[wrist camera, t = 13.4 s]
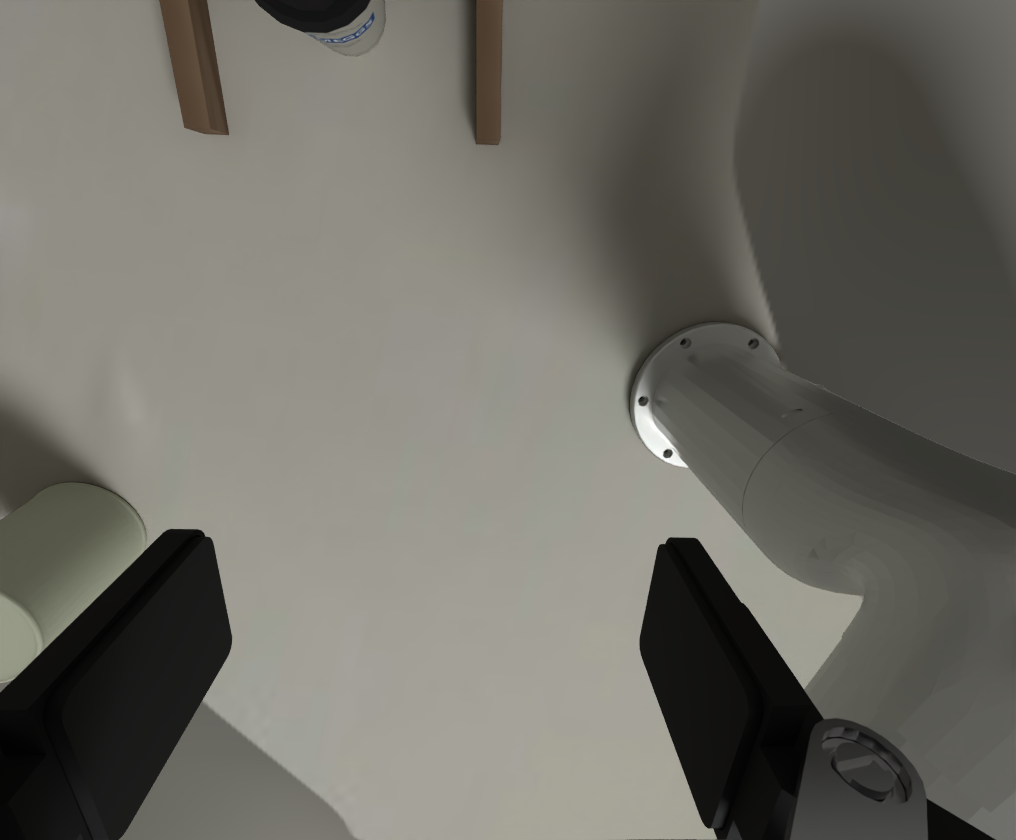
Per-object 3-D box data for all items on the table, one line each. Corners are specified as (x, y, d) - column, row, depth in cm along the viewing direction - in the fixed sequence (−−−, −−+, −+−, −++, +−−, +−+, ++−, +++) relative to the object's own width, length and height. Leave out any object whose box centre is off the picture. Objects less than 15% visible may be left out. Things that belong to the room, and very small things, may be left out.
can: (30, 561, 43) (-122, 681, 32) (25, 470, 40) (-146, 568, 29) (145, 580, 45) (38, 701, 34) (149, 495, 41) (32, 596, 30)
